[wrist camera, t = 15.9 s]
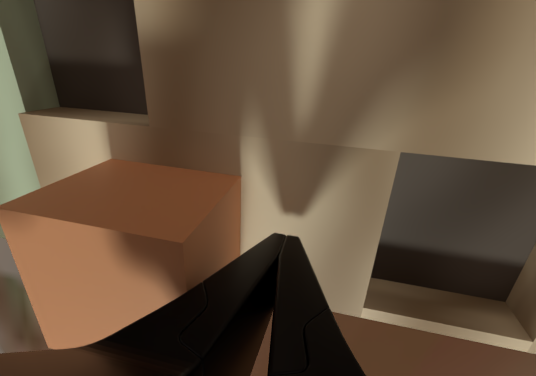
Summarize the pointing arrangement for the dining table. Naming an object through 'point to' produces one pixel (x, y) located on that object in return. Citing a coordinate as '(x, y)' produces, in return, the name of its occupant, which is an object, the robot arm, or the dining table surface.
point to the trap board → (309, 134)
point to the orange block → (119, 244)
